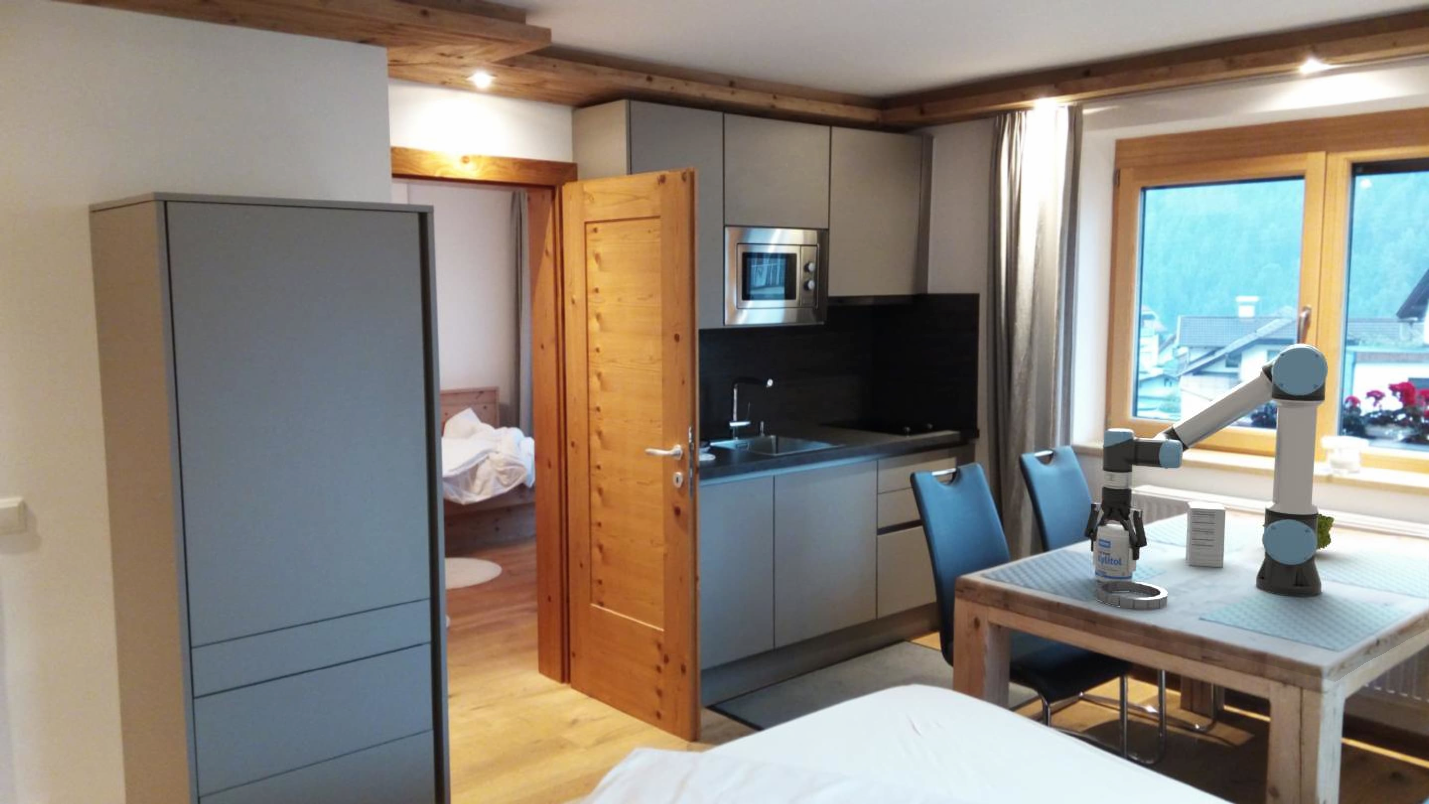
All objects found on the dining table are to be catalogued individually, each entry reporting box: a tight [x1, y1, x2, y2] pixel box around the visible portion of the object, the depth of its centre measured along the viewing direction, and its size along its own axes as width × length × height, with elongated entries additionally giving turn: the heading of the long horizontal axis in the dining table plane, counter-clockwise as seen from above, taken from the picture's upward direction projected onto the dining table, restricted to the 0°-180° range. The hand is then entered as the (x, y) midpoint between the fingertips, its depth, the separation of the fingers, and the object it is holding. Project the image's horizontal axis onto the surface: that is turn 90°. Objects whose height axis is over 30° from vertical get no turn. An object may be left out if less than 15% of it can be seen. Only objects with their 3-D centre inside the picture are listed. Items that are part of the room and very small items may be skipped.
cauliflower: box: [1261, 511, 1335, 551], centre depth 314 cm, size 18×16×16 cm
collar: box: [1094, 580, 1169, 610], centre depth 268 cm, size 17×17×2 cm
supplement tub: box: [1094, 523, 1134, 583], centre depth 285 cm, size 10×10×15 cm
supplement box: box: [1185, 501, 1226, 568], centre depth 303 cm, size 10×9×17 cm
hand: (1114, 567), depth 285 cm, fingers closed on supplement tub, 10 cm apart
